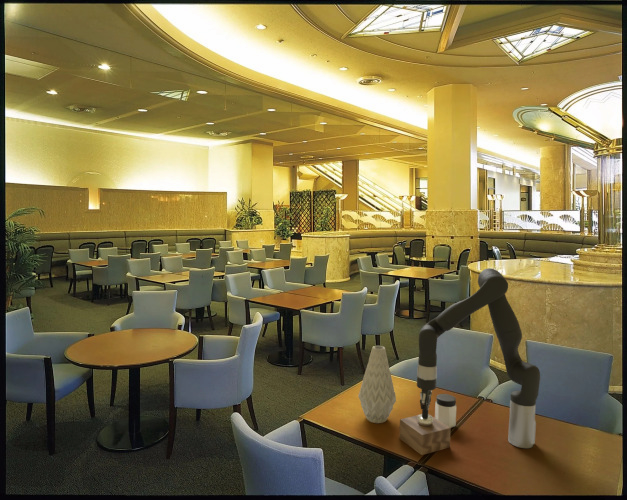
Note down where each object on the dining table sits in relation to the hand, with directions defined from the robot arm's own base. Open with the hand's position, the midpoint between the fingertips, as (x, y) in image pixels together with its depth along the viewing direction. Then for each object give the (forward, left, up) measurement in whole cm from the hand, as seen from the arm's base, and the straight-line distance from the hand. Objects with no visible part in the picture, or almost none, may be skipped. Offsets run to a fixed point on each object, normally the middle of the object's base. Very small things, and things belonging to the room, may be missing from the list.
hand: (425, 417), depth 177 cm
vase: (+6, -25, -11) cm, 28 cm away
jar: (-19, -9, -11) cm, 24 cm away
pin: (0, 0, -10) cm, 10 cm away
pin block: (0, 0, -11) cm, 10 cm away
